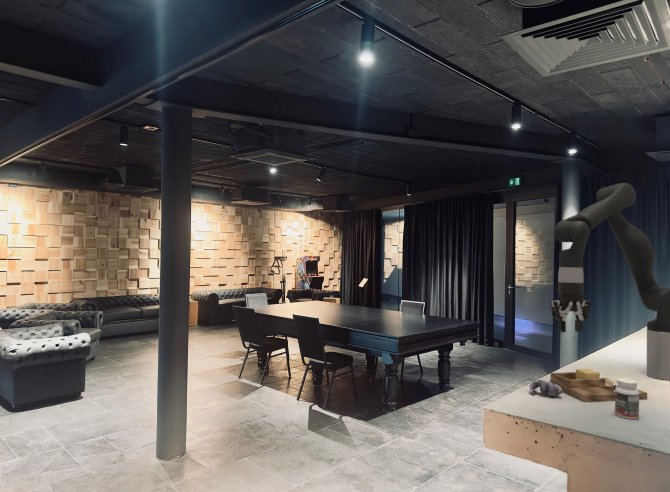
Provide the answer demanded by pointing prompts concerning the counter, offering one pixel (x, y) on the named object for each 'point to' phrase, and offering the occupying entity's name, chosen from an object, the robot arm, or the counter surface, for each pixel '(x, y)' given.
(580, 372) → the block
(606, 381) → the wooden compartment tray
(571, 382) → the cubby
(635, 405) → the pill bottle
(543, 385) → the seashell
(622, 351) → the counter surface
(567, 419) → the counter surface
